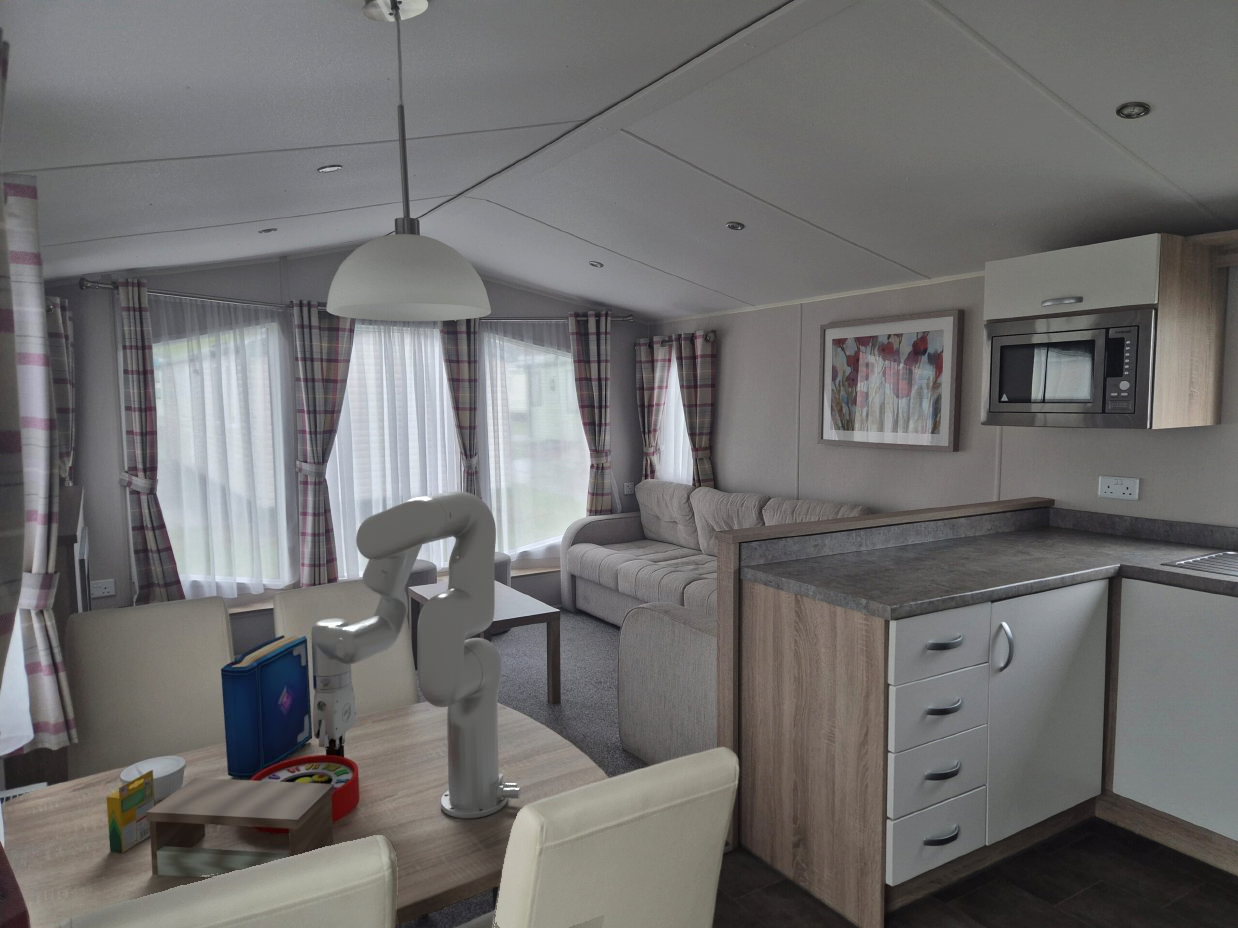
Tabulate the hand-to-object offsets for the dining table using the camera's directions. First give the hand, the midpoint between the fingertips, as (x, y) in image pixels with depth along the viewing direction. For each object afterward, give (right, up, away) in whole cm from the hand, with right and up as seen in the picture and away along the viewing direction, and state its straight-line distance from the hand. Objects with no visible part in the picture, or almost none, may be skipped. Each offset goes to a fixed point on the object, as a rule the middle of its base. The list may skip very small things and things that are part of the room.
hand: (335, 764), depth 163 cm
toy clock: (-1, -3, -14) cm, 14 cm away
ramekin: (-33, -3, -8) cm, 34 cm away
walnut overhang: (-4, -4, -32) cm, 32 cm away
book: (-16, -2, +6) cm, 18 cm away
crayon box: (-26, -4, -26) cm, 37 cm away
